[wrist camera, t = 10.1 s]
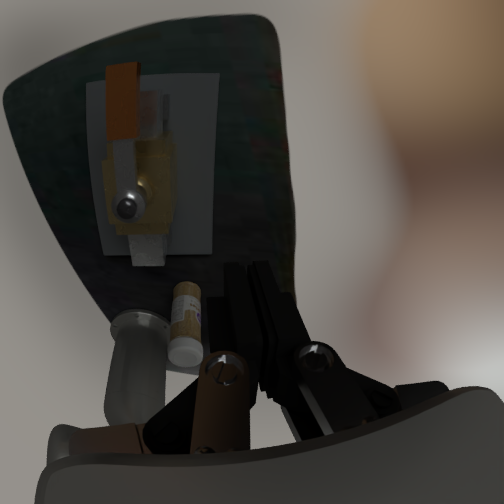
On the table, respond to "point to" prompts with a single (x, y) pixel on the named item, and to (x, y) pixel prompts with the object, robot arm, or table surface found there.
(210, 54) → the table surface
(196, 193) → the valve board
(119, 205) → the lever
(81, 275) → the table surface
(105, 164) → the valve
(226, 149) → the table surface
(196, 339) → the sprinkles bottle
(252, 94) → the table surface
